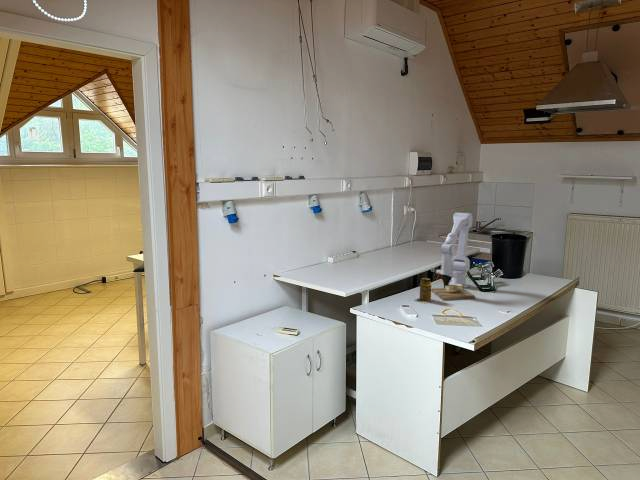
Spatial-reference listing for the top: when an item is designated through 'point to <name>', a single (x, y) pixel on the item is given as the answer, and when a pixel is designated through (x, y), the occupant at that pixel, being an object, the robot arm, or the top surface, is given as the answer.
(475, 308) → the top surface
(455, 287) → the folding leg
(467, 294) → the stool seat
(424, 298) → the condiment
